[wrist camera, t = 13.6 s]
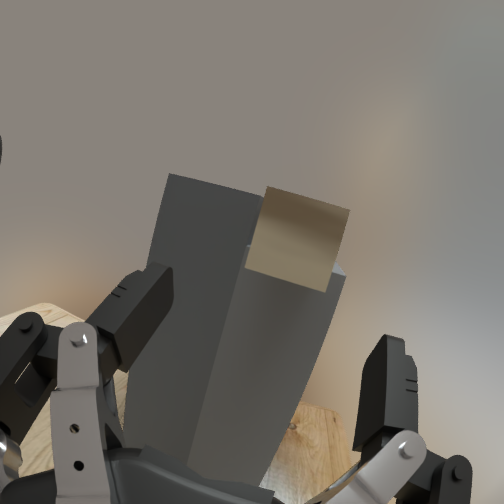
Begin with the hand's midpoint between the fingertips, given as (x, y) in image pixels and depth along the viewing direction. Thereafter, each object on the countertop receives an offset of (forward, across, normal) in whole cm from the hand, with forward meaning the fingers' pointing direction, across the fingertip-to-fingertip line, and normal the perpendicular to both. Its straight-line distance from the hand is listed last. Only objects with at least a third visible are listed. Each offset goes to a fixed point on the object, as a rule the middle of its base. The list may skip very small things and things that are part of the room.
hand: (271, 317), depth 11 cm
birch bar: (+14, 0, +7) cm, 16 cm away
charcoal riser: (+5, +4, +34) cm, 35 cm away
